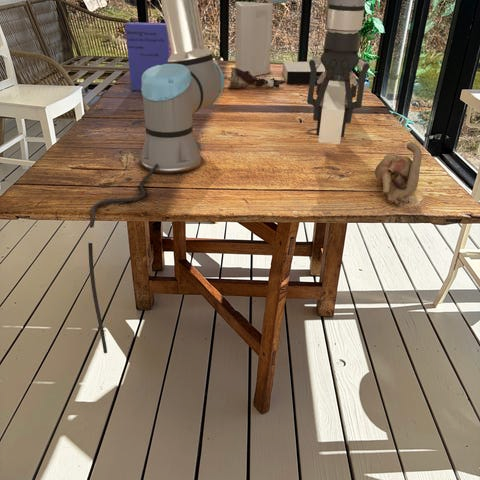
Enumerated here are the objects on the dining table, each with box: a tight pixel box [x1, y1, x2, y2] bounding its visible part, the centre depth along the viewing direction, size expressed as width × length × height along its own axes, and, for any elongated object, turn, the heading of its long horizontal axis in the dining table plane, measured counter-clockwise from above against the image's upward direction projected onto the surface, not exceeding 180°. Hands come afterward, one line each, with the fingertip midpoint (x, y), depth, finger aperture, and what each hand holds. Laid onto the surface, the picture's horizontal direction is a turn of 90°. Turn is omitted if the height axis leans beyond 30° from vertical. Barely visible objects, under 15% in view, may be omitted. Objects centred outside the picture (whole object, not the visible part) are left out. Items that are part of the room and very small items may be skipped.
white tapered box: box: [234, 1, 274, 77], centre depth 210 cm, size 19×15×28 cm
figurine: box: [223, 66, 287, 89], centre depth 190 cm, size 24×8×30 cm
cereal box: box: [124, 21, 172, 92], centre depth 181 cm, size 17×5×24 cm, turn 86°
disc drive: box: [281, 61, 325, 85], centre depth 207 cm, size 18×22×5 cm
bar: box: [317, 81, 346, 145], centre depth 122 cm, size 28×5×8 cm, turn 169°
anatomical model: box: [374, 141, 423, 205], centre depth 107 cm, size 13×9×15 cm
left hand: (330, 134), depth 116 cm, fingers closed on bar, 5 cm apart
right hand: (335, 97), depth 131 cm, fingers open, 8 cm apart
